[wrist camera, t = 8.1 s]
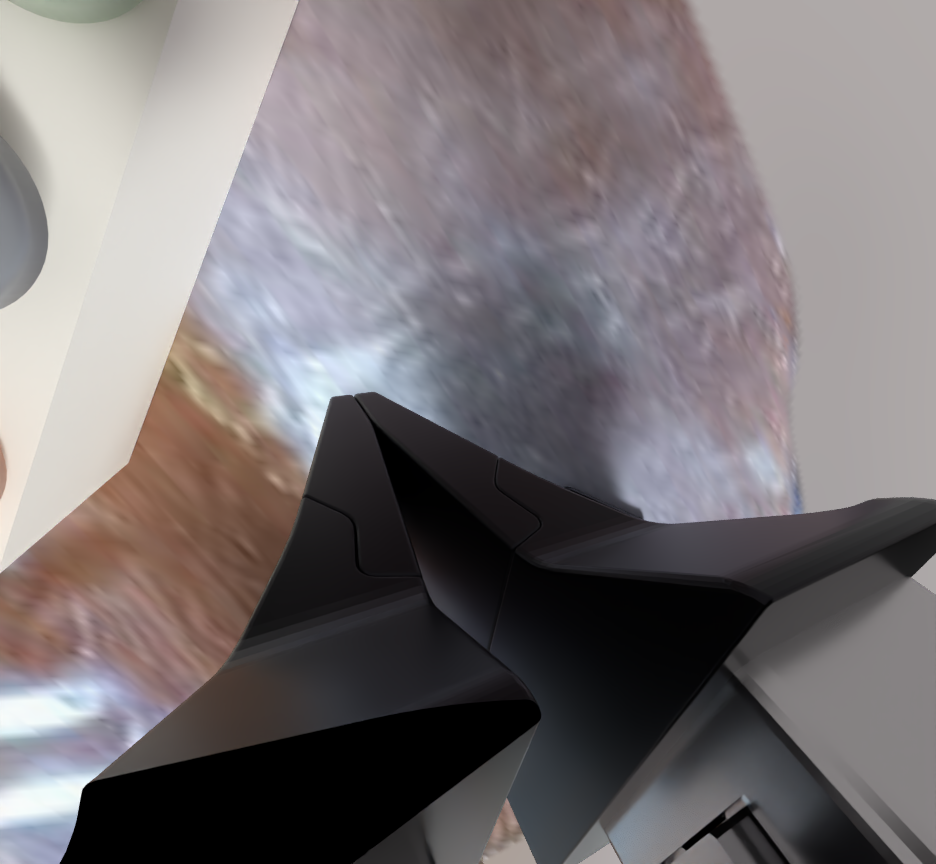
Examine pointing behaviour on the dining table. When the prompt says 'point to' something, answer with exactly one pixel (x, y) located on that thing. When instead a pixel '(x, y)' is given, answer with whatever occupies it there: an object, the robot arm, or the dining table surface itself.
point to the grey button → (19, 228)
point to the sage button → (78, 9)
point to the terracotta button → (2, 473)
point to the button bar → (114, 224)
